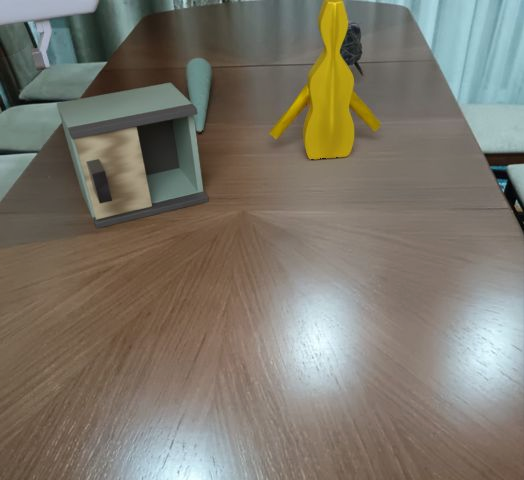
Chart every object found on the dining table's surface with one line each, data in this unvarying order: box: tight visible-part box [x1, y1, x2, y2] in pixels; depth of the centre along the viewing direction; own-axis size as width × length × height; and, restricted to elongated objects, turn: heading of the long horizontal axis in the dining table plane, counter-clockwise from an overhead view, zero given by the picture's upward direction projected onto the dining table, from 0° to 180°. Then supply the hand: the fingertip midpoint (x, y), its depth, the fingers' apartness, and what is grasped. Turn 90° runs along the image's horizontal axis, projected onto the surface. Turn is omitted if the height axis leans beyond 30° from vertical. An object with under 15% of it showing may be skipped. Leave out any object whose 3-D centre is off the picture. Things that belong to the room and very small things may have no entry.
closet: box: [56, 82, 209, 229], centre depth 79 cm, size 16×12×13 cm
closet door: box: [74, 127, 152, 220], centre depth 73 cm, size 8×5×11 cm, turn 113°
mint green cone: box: [185, 57, 213, 132], centre depth 108 cm, size 5×6×27 cm
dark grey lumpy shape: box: [340, 20, 365, 77], centre depth 108 cm, size 8×11×20 cm
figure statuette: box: [268, 0, 382, 160], centre depth 84 cm, size 18×8×22 cm, turn 95°
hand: (15, 72), depth 60 cm, fingers open, 4 cm apart
